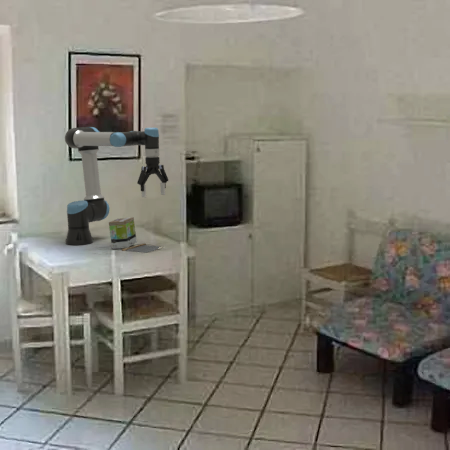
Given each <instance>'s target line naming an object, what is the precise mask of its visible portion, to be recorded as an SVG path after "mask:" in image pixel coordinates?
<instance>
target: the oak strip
mask: <svg viewBox="0 0 450 450" xmlns="http://www.w3.org/2000/svg"><path fill="white" fill-rule="evenodd" d="M143 245H147V244H146V243H140V244H136V245H131V246H130V247H128V248H121V251H122V252H123V251H124V252H125V251H126V250H128V249H132V248H135V247H139V246H143Z"/></svg>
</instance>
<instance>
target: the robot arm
mask: <svg viewBox="0 0 450 450" xmlns="http://www.w3.org/2000/svg"><path fill="white" fill-rule="evenodd" d="M159 132H160V131H159V129H158V127H145V128H144V131H142V130H140V131H139V130H131V131H122V132H121V131H120V132H119V131H116V132H115V131H100V130H98V128H96V127H93V126H85V127H84V126H83V127H72V128H70V129H68V130H67V131H66V133H65V135H64V141H65V143H66V145H67V146H68V147H70V148H71V149H77V151H78V153H79V154H81V162H82V163H81V165H82V171H83V173H82V174H83V179H84V180H83V181H84V190H85V197H84V198H83V200H75V201H72V202H69V203H68V204H67V206H66V216H67V226H68V227H67V228H68V229H67V232H66V233H67V235H66V238H65V244H66V245H67V246H68V245H69V246H81V245H89V244H93V242H94V238H93V236H92V233H91V231H90V223H93V222H100V221H103V220H105V219H107V217H108V216H109V214H110V204H109V203H108V201H107V200H105V197H104V195H102V192H101V184H100V183H101V182H100V173H99V164H98V158H97V157H98V156H97V153H98V151H100V150H99V147H115V148H122V147H133V146H144V156H145V158H144V159H145V164H146V166H145V165H143V166H141V170H140V173H139V175H138V176H139V177H138V179H137V184H138V185H139V186H140V191H141V198H147V185H146V183H147V181H148V180H149V178H150V176H151V175H156V177H158V179H159V180H160V183H159V184H160V195H163V196H165V195H166V187H167V185H166V184H167V182H169V177H168V176H167V172H166V170H165V167H164V166H165V165H164V164H160V161H161V160H160V157H159V156H160V145H159V144H160V134H159Z"/></svg>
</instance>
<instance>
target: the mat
mask: <svg viewBox="0 0 450 450" xmlns="http://www.w3.org/2000/svg"><path fill="white" fill-rule="evenodd" d="M159 247H160V246H157V245H147V244H146V245H143V246H139V247H135V248H132V249H128V250H126V251H127V252H134V253H135V252H136V253H144V254H147V253H152V252H154V250H155V251H157V250H156V249H158V248H159ZM158 250H159V249H158Z"/></svg>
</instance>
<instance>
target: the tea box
mask: <svg viewBox="0 0 450 450" xmlns="http://www.w3.org/2000/svg"><path fill="white" fill-rule="evenodd" d="M108 227H109V228H108V229H109V235H110V244H111V245H110V246H111V249H113V250H115V249H116V250H117V249H124V248H128V247H132V246H134V245H135V244H137V242H138V241H137V235H136V234H137V233H136V226H135V219H134V217H133V216H132V217H122V218H117V219H114V220H112V221H109V222H108Z"/></svg>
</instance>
